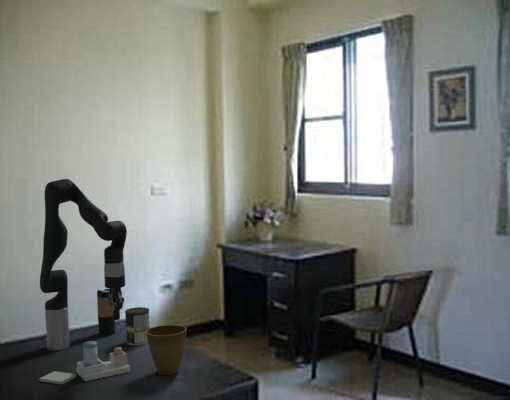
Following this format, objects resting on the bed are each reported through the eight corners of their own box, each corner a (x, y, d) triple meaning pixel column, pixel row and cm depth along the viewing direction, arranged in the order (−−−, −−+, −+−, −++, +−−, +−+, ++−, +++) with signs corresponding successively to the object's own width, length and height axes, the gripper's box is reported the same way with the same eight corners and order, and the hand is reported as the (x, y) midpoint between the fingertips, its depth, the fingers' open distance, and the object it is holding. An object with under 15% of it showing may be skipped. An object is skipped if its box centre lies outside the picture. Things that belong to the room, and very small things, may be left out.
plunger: (113, 357, 235) (112, 348, 235) (120, 355, 237) (120, 346, 236) (115, 359, 232) (115, 350, 232) (123, 357, 234) (123, 348, 234)
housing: (76, 372, 232) (75, 357, 231) (120, 363, 241) (119, 348, 240) (85, 381, 223) (84, 365, 222) (130, 371, 231) (129, 356, 231)
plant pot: (194, 367, 235) (193, 325, 234) (177, 380, 221) (175, 336, 220) (159, 363, 240) (157, 323, 239) (140, 377, 226) (138, 333, 225)
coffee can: (122, 345, 265) (121, 312, 264) (131, 338, 275) (129, 307, 274) (146, 345, 264) (144, 313, 263) (153, 338, 274) (152, 307, 273)
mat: (39, 381, 224) (39, 378, 224) (54, 373, 232) (54, 371, 231) (61, 384, 220) (61, 381, 220) (76, 376, 228) (76, 374, 227)
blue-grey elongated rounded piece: (82, 369, 230) (81, 342, 229) (96, 366, 233) (94, 340, 232) (86, 372, 226) (85, 346, 225) (100, 370, 228) (99, 343, 228)
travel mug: (111, 336, 279) (109, 292, 278) (95, 335, 281) (93, 292, 279) (118, 331, 287) (116, 288, 285) (103, 331, 288) (101, 288, 287)
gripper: (99, 273, 236) (101, 317, 237) (110, 278, 225) (112, 325, 226) (118, 270, 240) (120, 314, 241) (130, 275, 229) (132, 321, 230)
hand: (116, 319), depth 233 cm, fingers closed
